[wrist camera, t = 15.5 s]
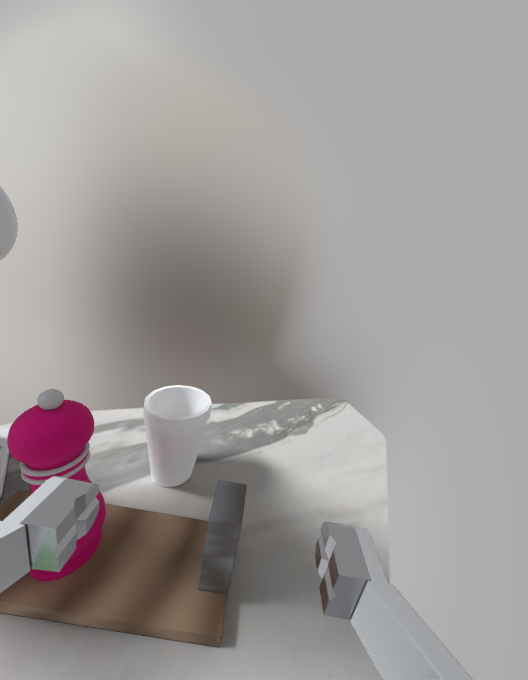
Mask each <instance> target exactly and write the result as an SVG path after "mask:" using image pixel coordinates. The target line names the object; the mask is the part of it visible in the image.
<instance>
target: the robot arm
mask: <svg viewBox="0 0 528 680" xmlns="http://www.w3.org/2000/svg"><path fill="white" fill-rule="evenodd" d="M17 226H18V225H17V218H16V214H15V211H14V208H13V206H12V203H11V202H10V200H9V198H8V197H7V195H6V193H5V192H4V190H3V189H2V188H1V186H0V260H1V259H3V258H4V257H5V256H6V255H7V254H8V253H9V252H10V250H11V249H12V247H13V245H14V243H15V241H16V237H17V231H18V227H17ZM9 430H10V429H8V428H3V427H0V498H1V495H2V491H3V485H4V480H5V474H6V469H7V463H8V458H9V453H10V452H9V449H8V444H7V437H8V433H9ZM98 493H99V485H98V484H93V483H88V482H83V481H78V480H73V479H68V478H63V477H57V476H53V477H51V478H49V479H48V480H47V481H46V482H44V483H43V484H42V485H41V486H40V487H39V488H38V489H37V490H36V491H35V492H34V493H33V494H31V495H30V496H29V497H28V498H27V499H26V500H25V501H24V502H23V503H22V504H21V505H19V506H18V507H17V508H16V509H15V510H14V511H13V512H12V513H11V514H10V515H9V516H8V517H6V518H5V519H4V520H3V521H0V593H1V592H3V591H4V590H5V589H7V588H8V587H9V586H11V585H12V584H13V583H15V582H16V581H17V580H19V579H20V578H21V577H23V576H24V575H25V574H27V573H28V572H29V571H30V569H37V570H45V571H54V572H60V570H61V569H62V568H63V566H64V565H65V563H66V562H67V561H68V559H69V558H70V556H71V555H72V554H73V552H74V551H75V549H76V543H77V540H78V539H79V538H81V537H82V536H84V535H85V534H87V532H88V531H89V529H90V528H91V526H92V525H93V523H94V521H95V519H96V517H97V515H98V511H99V501H98V499H97V498H96V495H97V494H98ZM321 531H322V536H321V537H319V538H318V541H317V544H316V554H315V555H316V566H317V572H318V573H319V575H320V576H321V578H322V583H321V585H320V593H321V599H322V606H323V612H324V615H328V616H334V617H339V618H344V619H349V620H351V621H350V622H351V624H352V626H353V628H354V629H355V631H356V633H357V635H358V637H359V638H360V640H361V642H362V644H363V646H364V647H365V649H366V651H367V653H368V655H369V656H370V658H371V660H372V662H373V664H374V665H375V667H376V669H377V671H378V673H379V674H380V676H381V678H382V680H473V679H472V678H471V677H470V675H469V674H468V673H467V672H466V671H465V670H464V668H463V667H462V666H461V665H460V664H459V662H458V661H457V660H456V659H455V658H454V656H452V654H451V653H450V652H449V651H448V649H447V648H446V647H445V646H444V645H443V643H442V642H441V641H440V640H439V639H438V637H437V636H436V635H435V634H434V633H433V631H432V630H431V629H430V628H429V627H428V626H427V624H426V623H425V622H424V621H423V620H422V618H421V617H420V616H419V615H418V614H417V612H416V611H415V610H414V609H413V608H412V607H411V605H410V604H409V603H408V602H407V601H406V599H405V598H404V597H403V596H402V595H401V593H399V591H398V590H397V589H396V588H395V586H394V585H391V584H389V583H388V580H387V578H386V575H385V573H384V570H383V567H382V565H381V562H380V559H379V557H378V554H377V552H376V549H375V546H374V544H373V541H372V538H371V536H370V533H369V531H368V530H367V529H366V528H360V527H354V526H350V525H344V524H337V523H330V522H324V523H323V525H322V528H321Z"/></svg>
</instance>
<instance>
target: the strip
mask: <svg viewBox="0 0 528 680" xmlns="http://www.w3.org/2000/svg"><path fill="white" fill-rule="evenodd" d="M245 493H246V485H244V484H238V483H233V482H227V481H221V480H219V481H218V485H217V489H216V493H215V497H214V501H213V505H212V509H211V513H210V516H209V521H205V520H199V519H193V518H187V517H181V516H175V515H169V514H163V513H157V512H151V511H145V510H139V509H133V508H127V507H121V506H115V505H109V504H105V508H106V516H105V521H104V524H103V526H102V537H101V541H100V544H99V546H98V548H97V550H96V551H95V553H94V554H93V555H92V557H91V558H90V559H89V560H88V561H87V562H86V563H85V564H84V565H83V566H81V567H80V568H79V569H78V570H76V571H75V572H73V573H71V574H70V575H68V576H65V577H63V578H61V579H58V580H54V581H38V580H36V579H34V578H32V577H31V576H30V574H29V573H27V574H25V575H24V576H23V577H21V578H20V579H19V580H17V581H16V582H15V583H13V584H12V585H11V586H9V587H8V588H7V589H5V590H4V591H3V592H1V593H0V613H5V614H12V615H18V616H24V617H31V618H37V619H43V620H50V621H56V622H62V623H69V624H75V625H82V626H88V627H94V628H101V629H107V630H113V631H120V632H126V633H132V634H139V635H145V636H151V637H158V638H164V639H170V640H177V641H183V642H190V643H196V644H202V645H209V646H215V647H219V645H220V641H221V635H222V628H223V621H224V614H225V606H226V599H227V593H228V588H229V583H230V578H231V573H232V569H233V564H234V559H235V554H236V549H237V544H238V539H239V535H240V530H241V525H242V519H243V510H244V502H245ZM30 495H31V491H25V490H19V491H18V492H17V493H16V494H14V495H13V496H12V497H11V498H10V499H9V500H8V501H6V502H5V503H4V504H3V505H2V506H1V507H0V521H3V520H4V519H5V518H6V517H8V516H9V515H10V514H11V513H12V512H13V511H14V510H15V509H16V508H17V507H18V506H19V505H21V504H22V503H23V502H24V501H25V500H26V499H27V498H28V497H29V496H30Z"/></svg>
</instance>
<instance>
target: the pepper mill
mask: <svg viewBox="0 0 528 680" xmlns="http://www.w3.org/2000/svg"><path fill="white" fill-rule="evenodd" d="M37 402H38V405H36V406H34V407H32V408H30V409H29V410H27V411H25V412H24V413H23V414H21V415H20V416H19V417H18V418H17V419H16V420H15V421H14V423H13V424H12V426H11V427H10V430H9V433H8V437H7V444H8V449H9V452H10V454H11V455H12V457H13V458H15V459H16V460H18V461H20V469H21V477H22V479H23V480H24V481H25V482H27V483H29V484H30V486H31V494H33V493H34V492H35V491H36V490H37V489H38V488H39V487H40V486H41V485H42V484H43V483H44V482H46V481H47V480H48V479H49V478H51V477H53V476H57V477H63V478H68V479H73V480H78V481H83V482H88V483H92V482H91V481H90V480H89V478H88V476H87V474H86V470H85V464H86V463H87V462H88V460H89V457H90V451H89V447H90V446H89V442H88V441H89V440H90V438H91V436H92V434H93V432H94V419H93V416H92V414H91V412H90V410H89V409H88V408H87V407H86V406H84V405H83V404H81V403H79V402H76V401H71V400H64V396H63V394H62V392H60V391H58V390H55V389H50V390H46V391H44V392H43V393H41V394H40V395H39V397H38V399H37ZM96 498H97V499H98V501H99V511H98V515H97V517H96V519H95V521H94V523H93V525H92V526H91V528H90V529H89V531H88V532H87V534H85V535H84V536H82V537H81V538H79V539H78V540H77V543H76V549H75V551H74V552H73V554H72V555H71V556H70V558H69V559H68V561H67V562H66V563H65V565H64V566H63V568H62V569H61V570H60V572H54V571H45V570H37V569H30V571H29V572H28V573H29V574H30V576H31V577H32V578H34V579H36V580H38V581H54V580H58V579H61V578H63V577H65V576H68V575H70V574H71V573H73V572H75V571H76V570H78V569H79V568H80V567H81V566H83V565H84V564H85V563H86V562H87V561H88V560H89V559H90V558H91V557H92V555H93V554H94V553H95V551H96V550H97V548H98V546H99V544H100V541H101V537H102V526H103V524H104V521H105V516H106V508H105V502H104V499H103V496H102V494H101V493H100V491H99V493H98V494H97V495H96Z"/></svg>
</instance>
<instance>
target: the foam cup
mask: <svg viewBox="0 0 528 680" xmlns="http://www.w3.org/2000/svg"><path fill="white" fill-rule="evenodd" d="M211 404H212V403H211V400H210V396H209V395H207V394H206V393H205V392H204V391H203V390H200V389H197V388H194V387H190V386H181V385H176V386H167V387H163V388H160V389H157V390H155V391H153V392H151V393H150V394H149V395H148V396H147V397H146V398H145V403H144V417H143V420H144V422H145V425H146V434H147V443H148V452H149V460H150V469H151V475H152V479H153V480H154V482H155V483H156V484H158V485H160V486H162V487H175V486H178V485H181V484H183V483H184V482H185V481H187V480H188V479H189V478H190V476H191V474H192V472H193V468H194V465H195V462H196V458H197V455H198V451H199V448H200V444H201V441H202V437H203V434H204V431H205V427H206V424H207V421H208V419H209V417H210V412H211Z"/></svg>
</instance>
